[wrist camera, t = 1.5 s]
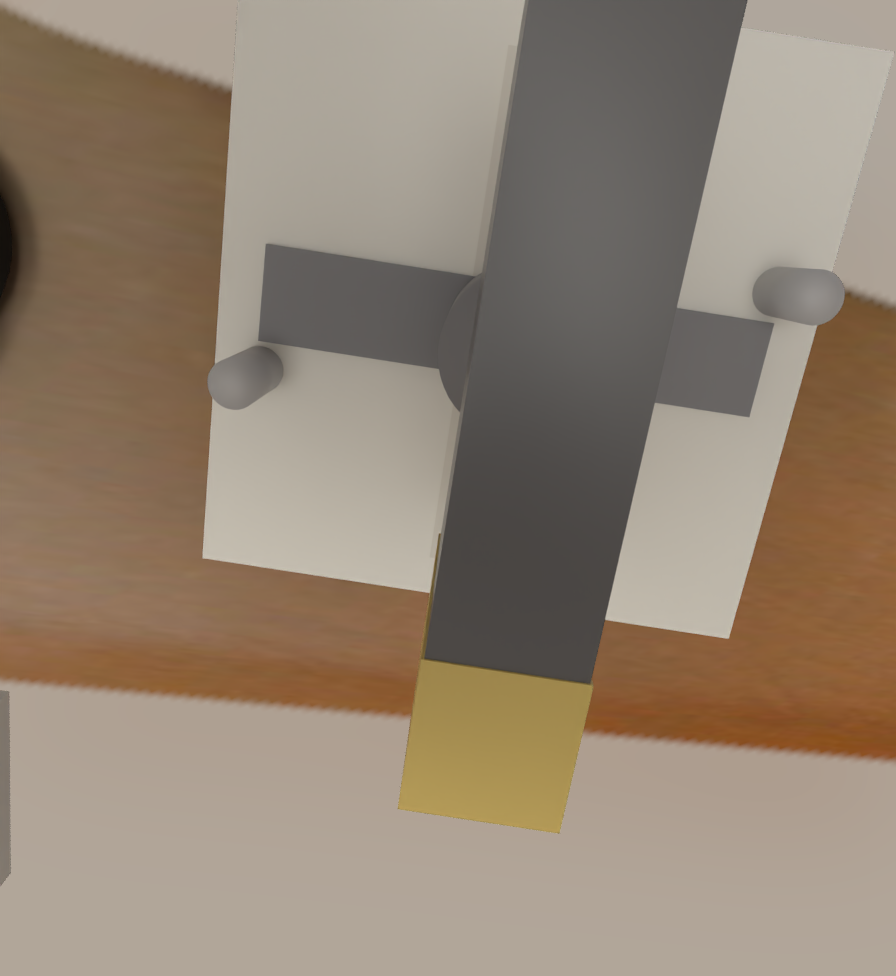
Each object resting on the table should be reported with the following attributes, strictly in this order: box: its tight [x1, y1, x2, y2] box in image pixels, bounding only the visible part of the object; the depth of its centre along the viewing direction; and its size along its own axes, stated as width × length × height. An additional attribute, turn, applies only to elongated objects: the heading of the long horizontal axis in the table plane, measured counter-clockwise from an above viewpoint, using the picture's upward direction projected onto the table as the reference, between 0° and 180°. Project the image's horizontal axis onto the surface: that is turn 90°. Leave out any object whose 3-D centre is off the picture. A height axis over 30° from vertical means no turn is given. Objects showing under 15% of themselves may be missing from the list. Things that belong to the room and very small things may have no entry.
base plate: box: [203, 0, 894, 639], centre depth 24 cm, size 20×20×8 cm
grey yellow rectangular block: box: [398, 0, 747, 833], centre depth 16 cm, size 14×3×9 cm, turn 171°
